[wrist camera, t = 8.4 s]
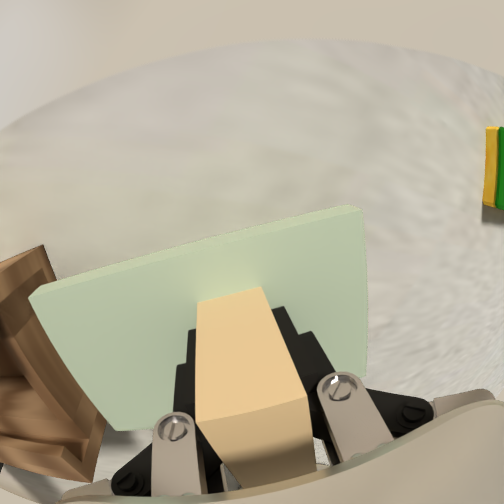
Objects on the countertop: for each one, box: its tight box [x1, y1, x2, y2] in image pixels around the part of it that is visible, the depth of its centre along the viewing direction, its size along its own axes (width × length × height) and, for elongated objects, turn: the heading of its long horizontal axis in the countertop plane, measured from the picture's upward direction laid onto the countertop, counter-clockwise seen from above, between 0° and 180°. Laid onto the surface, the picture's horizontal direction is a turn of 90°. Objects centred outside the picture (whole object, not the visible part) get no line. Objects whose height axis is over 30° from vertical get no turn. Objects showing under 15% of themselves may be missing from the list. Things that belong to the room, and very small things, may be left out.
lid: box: [28, 204, 368, 489], centre depth 9 cm, size 14×9×7 cm, turn 103°
